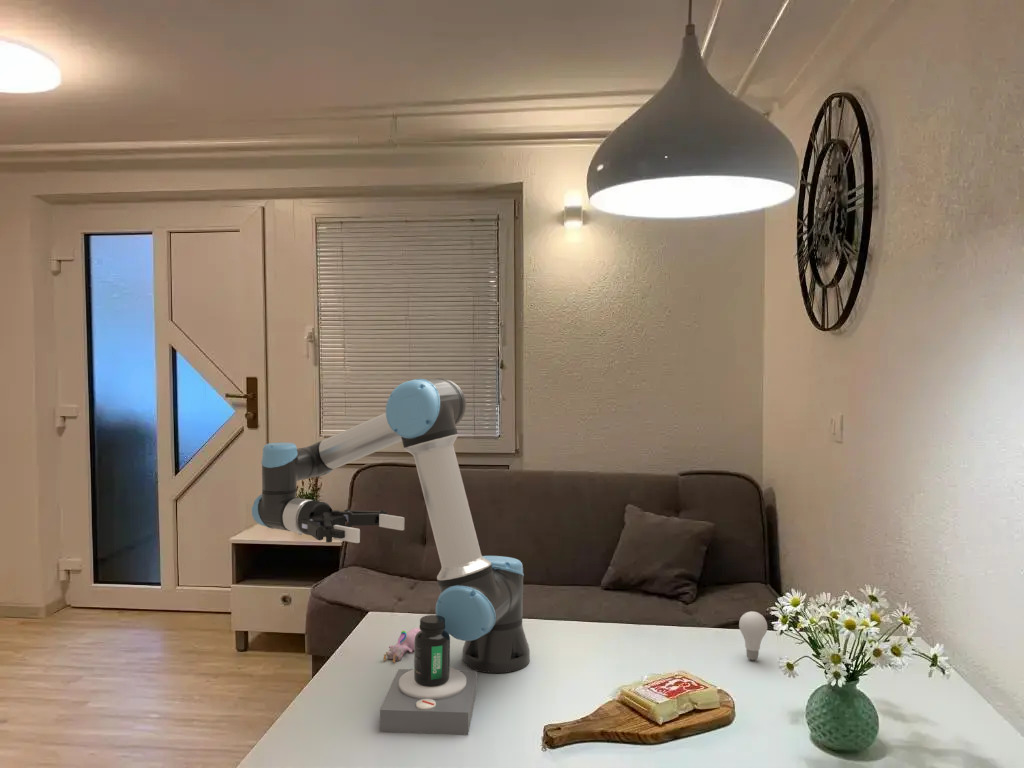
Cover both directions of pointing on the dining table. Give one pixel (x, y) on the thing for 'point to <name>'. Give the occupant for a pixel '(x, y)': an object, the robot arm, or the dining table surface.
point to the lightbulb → (753, 632)
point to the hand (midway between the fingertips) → (381, 529)
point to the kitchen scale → (429, 704)
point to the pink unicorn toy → (402, 645)
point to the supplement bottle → (432, 652)
